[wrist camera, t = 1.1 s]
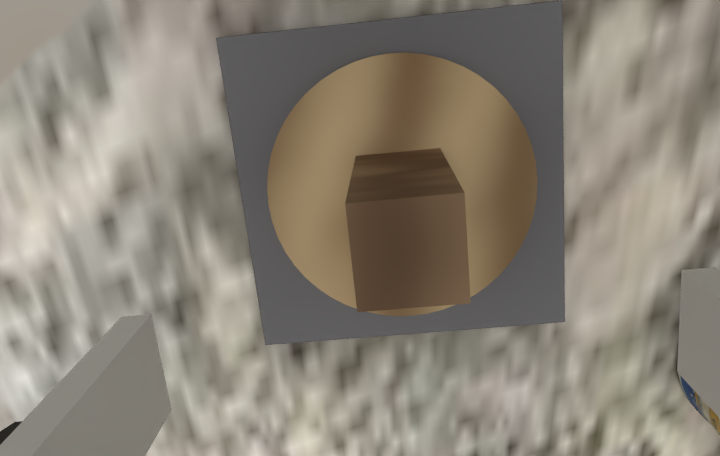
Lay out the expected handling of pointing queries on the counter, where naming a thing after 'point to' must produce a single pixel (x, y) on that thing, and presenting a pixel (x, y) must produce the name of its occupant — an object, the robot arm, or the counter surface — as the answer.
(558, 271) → the mat
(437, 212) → the lid
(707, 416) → the beverage bottle
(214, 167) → the counter surface
